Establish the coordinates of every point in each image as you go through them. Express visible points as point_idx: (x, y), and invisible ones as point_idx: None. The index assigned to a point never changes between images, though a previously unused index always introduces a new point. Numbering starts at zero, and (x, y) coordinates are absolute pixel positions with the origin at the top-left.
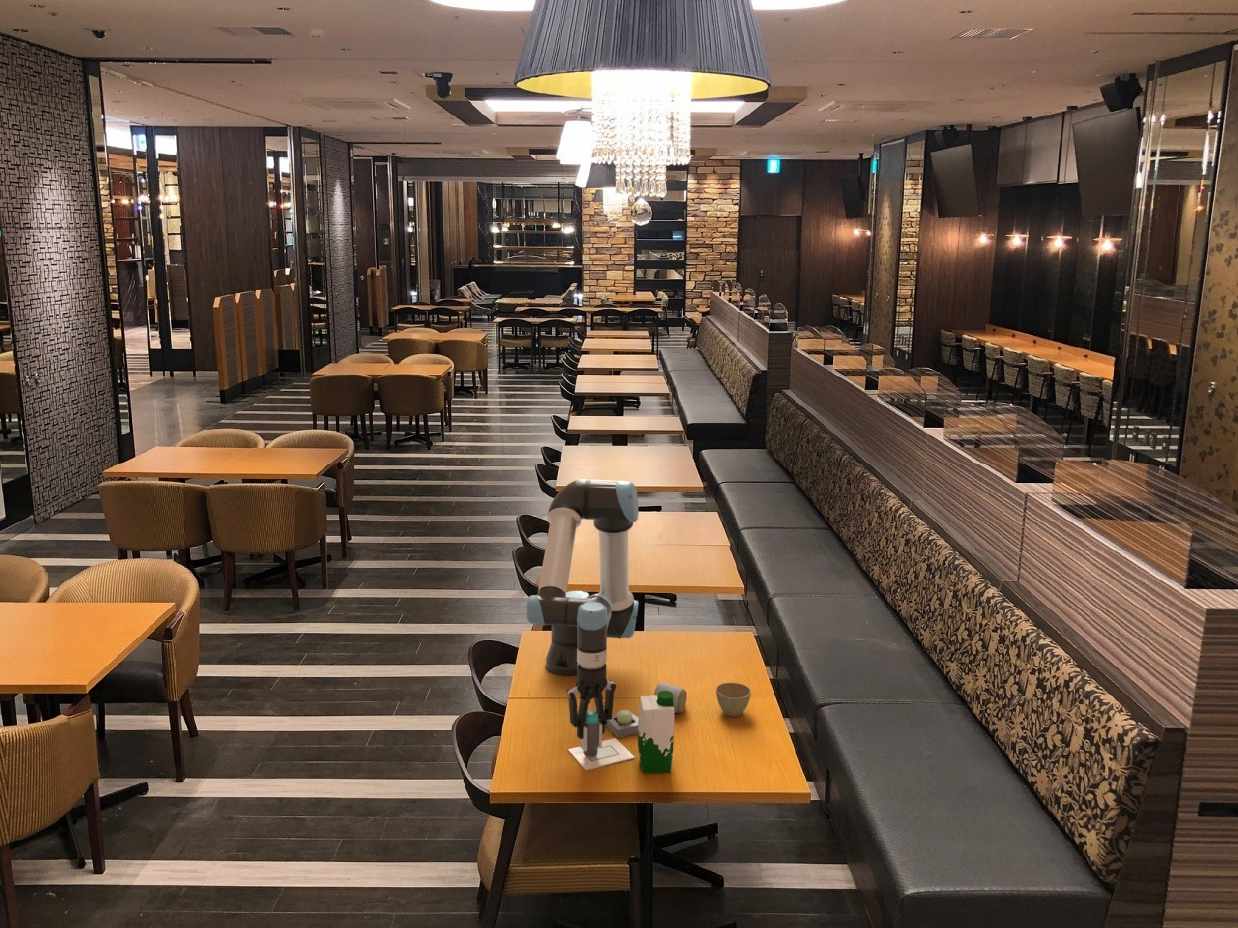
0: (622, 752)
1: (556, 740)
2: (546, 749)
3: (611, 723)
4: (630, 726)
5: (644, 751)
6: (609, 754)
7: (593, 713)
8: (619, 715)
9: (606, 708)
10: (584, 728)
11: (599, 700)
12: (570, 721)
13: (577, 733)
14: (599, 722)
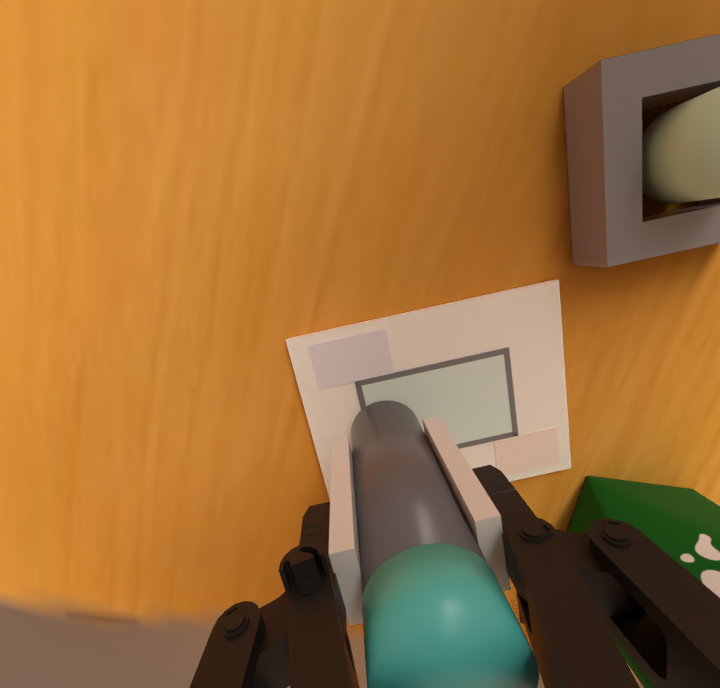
0: (536, 421)
1: (239, 214)
2: (173, 301)
3: (602, 170)
4: (692, 243)
5: (631, 669)
6: (473, 428)
7: (481, 684)
8: (703, 159)
9: (675, 673)
10: (348, 620)
11: None
12: (213, 644)
13: (303, 534)
14: (500, 554)
